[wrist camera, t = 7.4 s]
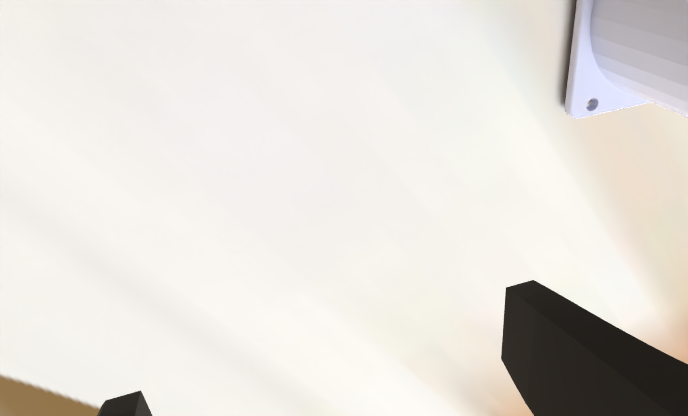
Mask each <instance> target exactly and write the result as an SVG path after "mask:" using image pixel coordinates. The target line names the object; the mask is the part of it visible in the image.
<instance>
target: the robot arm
mask: <svg viewBox="0 0 688 416" xmlns="http://www.w3.org/2000/svg"><path fill="white" fill-rule="evenodd" d="M591 99H592V101H591V104H590V105H589V106H588V107H587V104H588V102H589V101H590V100H591ZM650 102H651V103H654V104H656V105H658V106H661V107H663V108H666V109H668V110H670V111H673V112H675V113H677V114H680V115H682V116H684V117H687V118H688V0H577V4H576V13H575V22H574V30H573V39H572V48H571V57H570V65H569V74H568V83H567V91H566V100H565V112H566V114H567V115H569V116H571V117H573V118H574V119H580V118H584V117H589V116H593V115H597V114H602V113H606V112H611V111H615V110H620V109H624V108H628V107H633V106H637V105H642V104H646V103H650ZM501 359H502V361H503V363H504V365H505V367H506V369H507V370H508V372H509V374H510V376H511V378H512V380H513V382H514V384H515V385H516V387H517V389H518V391H519V392H520V394H521V396H522V398H523V399H524V401H525V403H526V404H527V406H528V407H529V409H530V410H531V412H532V413H533V414H534V416H688V364H686V363H684V362H682V361H680V360H678V359H675V358H673V357H671V356H669V355H667V354H666V353H664V352H662V351H660V350H658V349H656V348H654V347H652V346H650V345H648V344H646V343H644V342H643V341H641V340H639V339H637V338H635V337H633V336H631V335H630V334H628V333H626V332H624V331H622V330H621V329H619V328H617V327H615V326H613V325H612V324H610V323H608V322H606V321H604V320H603V319H601V318H599V317H597V316H596V315H594V314H592V313H590V312H589V311H587V310H585V309H583V308H582V307H580V306H578V305H577V304H575V303H573V302H571V301H570V300H568V299H566V298H564V297H563V296H561V295H559V294H557V293H556V292H554V291H552V290H550V289H549V288H547V287H545V286H543V285H541V284H540V283H538V282H536V281H534V280H532V281H528V282H525V283H521V284H517V285H514V286H510V287H507V288H506V296H505V311H504V326H503V341H502V356H501ZM97 416H152V414H151V412H150V409H149V407H148V405H147V403H146V401H145V399H144V396H143V394H142V392H141V391H138V392H134V393H131V394H127V395H124V396H120V397H117V398H113V399H109V400H106V401H105V402H104V404H103V405H102V406H101V408H100V411H99V413H98V415H97Z"/></svg>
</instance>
